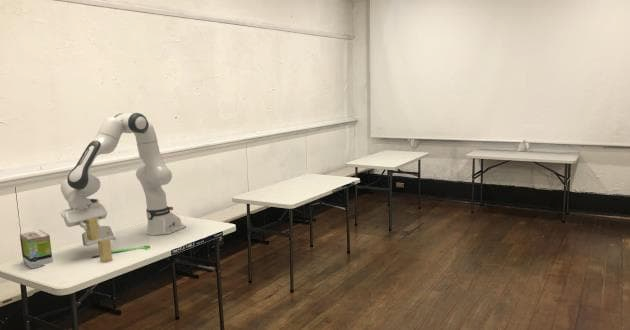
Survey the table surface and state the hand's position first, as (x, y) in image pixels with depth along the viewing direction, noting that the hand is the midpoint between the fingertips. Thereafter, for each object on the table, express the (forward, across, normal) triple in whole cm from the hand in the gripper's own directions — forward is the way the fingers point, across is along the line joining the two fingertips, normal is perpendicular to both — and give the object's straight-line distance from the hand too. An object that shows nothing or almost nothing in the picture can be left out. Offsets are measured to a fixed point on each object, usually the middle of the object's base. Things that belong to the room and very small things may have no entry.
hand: (92, 228), depth 250 cm
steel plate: (+14, 0, +9) cm, 16 cm away
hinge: (-6, +15, +29) cm, 33 cm away
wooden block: (+3, 0, +4) cm, 5 cm away
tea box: (-3, -19, +26) cm, 32 cm away
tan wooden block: (+17, 0, +4) cm, 17 cm away
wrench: (+14, +13, +8) cm, 21 cm away
